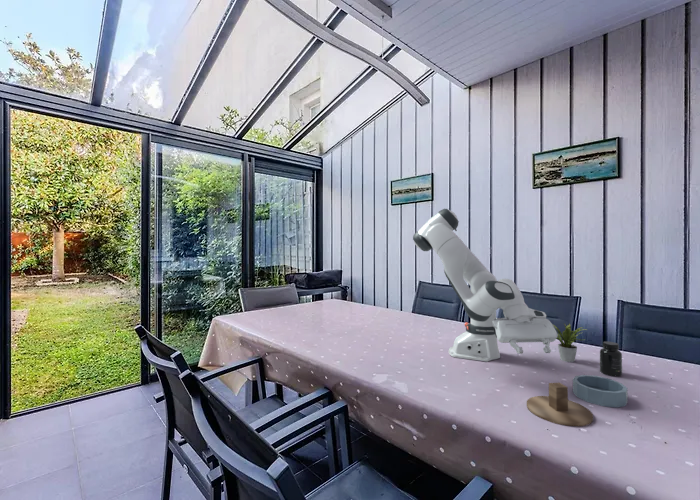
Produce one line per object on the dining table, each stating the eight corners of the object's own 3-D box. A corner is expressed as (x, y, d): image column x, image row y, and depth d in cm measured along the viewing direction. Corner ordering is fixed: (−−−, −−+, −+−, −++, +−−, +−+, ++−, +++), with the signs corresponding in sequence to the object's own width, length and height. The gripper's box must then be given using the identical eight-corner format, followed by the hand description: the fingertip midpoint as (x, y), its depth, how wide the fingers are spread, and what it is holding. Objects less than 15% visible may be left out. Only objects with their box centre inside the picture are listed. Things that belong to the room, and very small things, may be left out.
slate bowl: (583, 404, 105) (583, 389, 105) (567, 386, 119) (567, 373, 119) (636, 409, 101) (636, 394, 101) (613, 390, 115) (613, 377, 115)
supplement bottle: (595, 370, 133) (595, 340, 132) (611, 370, 133) (611, 340, 133) (610, 377, 126) (610, 345, 126) (626, 376, 126) (626, 345, 126)
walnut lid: (549, 428, 92) (548, 398, 92) (515, 400, 109) (515, 375, 109) (608, 425, 93) (608, 396, 93) (566, 398, 110) (565, 373, 110)
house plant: (597, 368, 135) (596, 328, 135) (559, 366, 138) (559, 326, 138) (580, 356, 149) (580, 320, 149) (546, 355, 152) (546, 319, 152)
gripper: (493, 313, 120) (507, 348, 110) (549, 312, 120) (568, 347, 111) (488, 322, 124) (500, 357, 115) (542, 321, 125) (559, 356, 115)
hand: (534, 352), depth 113 cm, fingers open, 8 cm apart
